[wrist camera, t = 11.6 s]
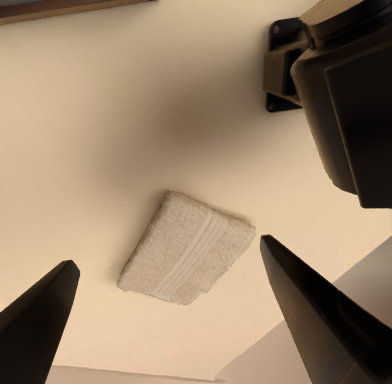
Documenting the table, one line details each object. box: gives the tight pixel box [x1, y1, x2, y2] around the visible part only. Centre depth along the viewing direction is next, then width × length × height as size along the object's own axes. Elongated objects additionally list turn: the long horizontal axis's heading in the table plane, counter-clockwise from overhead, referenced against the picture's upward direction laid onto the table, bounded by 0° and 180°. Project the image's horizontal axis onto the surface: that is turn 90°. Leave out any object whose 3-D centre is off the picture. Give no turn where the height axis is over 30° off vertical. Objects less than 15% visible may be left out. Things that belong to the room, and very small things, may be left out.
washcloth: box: [117, 191, 256, 305], centre depth 27 cm, size 12×18×3 cm, turn 151°
